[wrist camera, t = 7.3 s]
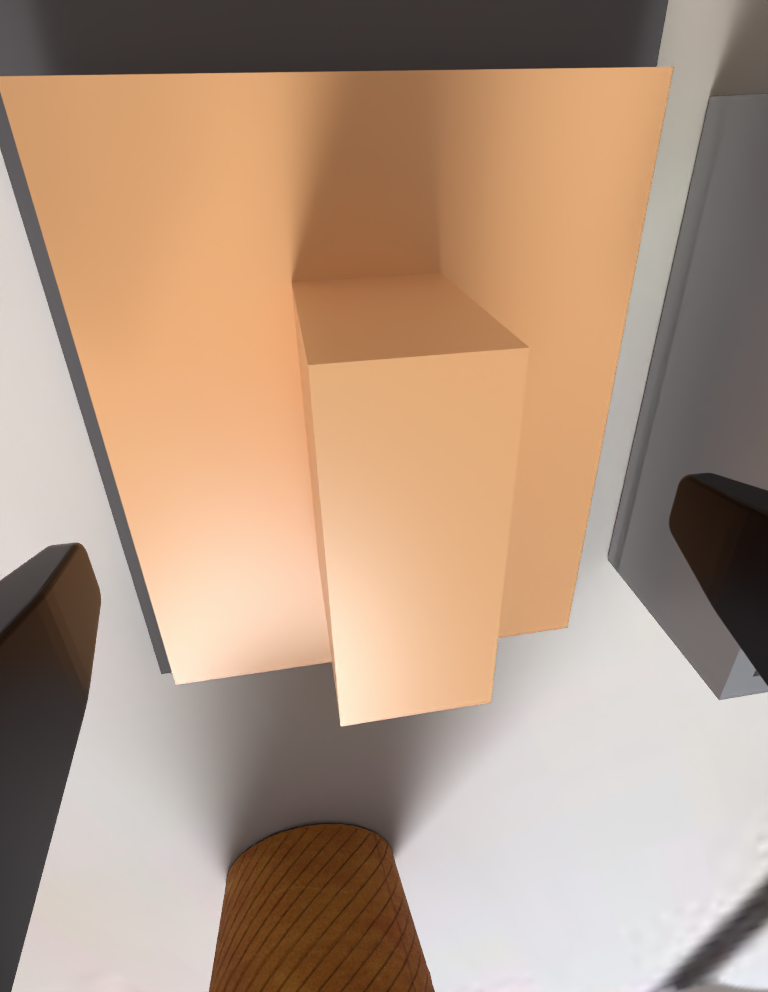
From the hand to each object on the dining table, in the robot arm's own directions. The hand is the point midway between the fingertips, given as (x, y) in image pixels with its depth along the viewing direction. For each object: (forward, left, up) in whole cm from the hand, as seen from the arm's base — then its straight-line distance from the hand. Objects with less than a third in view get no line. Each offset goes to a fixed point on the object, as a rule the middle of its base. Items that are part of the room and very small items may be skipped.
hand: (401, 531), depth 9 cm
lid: (0, 0, -5) cm, 5 cm away
